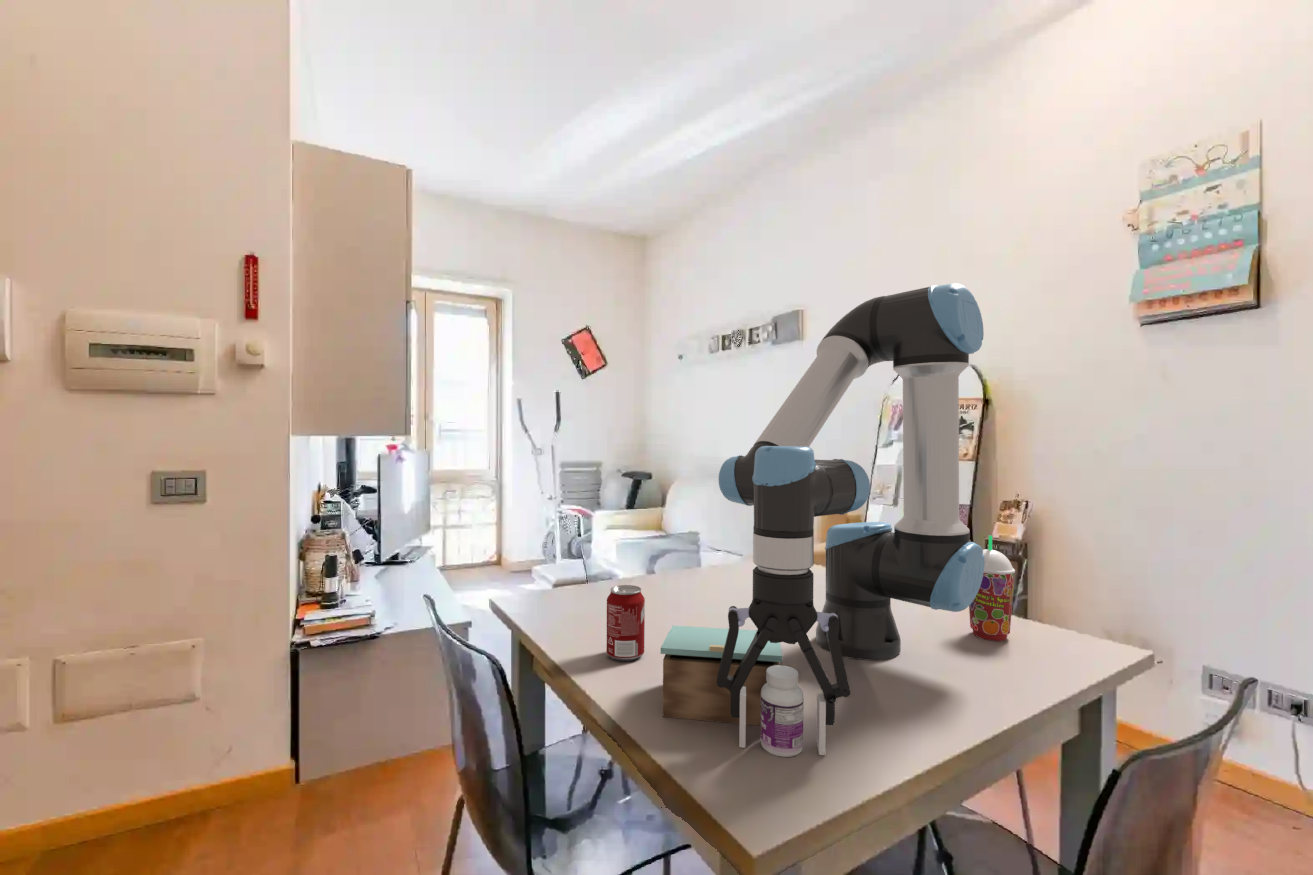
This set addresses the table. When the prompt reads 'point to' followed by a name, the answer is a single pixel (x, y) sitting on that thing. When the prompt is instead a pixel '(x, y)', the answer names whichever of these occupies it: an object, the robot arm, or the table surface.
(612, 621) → the soda can
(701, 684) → the keepsake box
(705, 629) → the lid
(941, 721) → the table surface
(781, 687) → the pill bottle
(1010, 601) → the smoothie
